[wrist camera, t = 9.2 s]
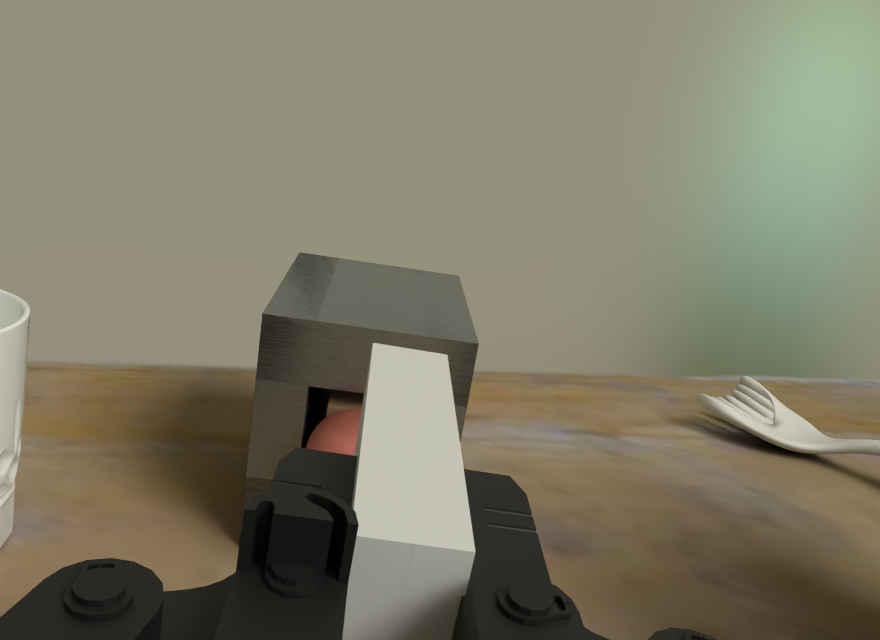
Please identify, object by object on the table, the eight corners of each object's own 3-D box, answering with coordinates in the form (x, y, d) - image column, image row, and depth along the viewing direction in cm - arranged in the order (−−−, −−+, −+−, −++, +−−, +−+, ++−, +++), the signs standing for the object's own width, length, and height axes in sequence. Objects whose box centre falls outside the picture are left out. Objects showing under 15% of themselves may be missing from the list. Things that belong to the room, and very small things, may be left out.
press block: (436, 568, 36) (478, 343, 32) (238, 546, 35) (262, 313, 32) (428, 450, 47) (458, 275, 44) (279, 431, 46) (299, 252, 43)
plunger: (394, 531, 31) (408, 441, 30) (293, 519, 31) (305, 427, 29) (396, 399, 44) (406, 333, 43) (326, 390, 43) (334, 323, 42)
